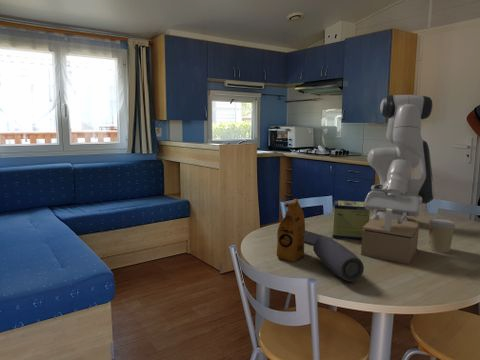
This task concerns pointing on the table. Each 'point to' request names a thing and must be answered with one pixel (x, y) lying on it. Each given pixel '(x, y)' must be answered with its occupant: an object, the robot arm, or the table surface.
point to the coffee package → (291, 233)
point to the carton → (389, 246)
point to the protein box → (349, 219)
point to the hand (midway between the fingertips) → (387, 221)
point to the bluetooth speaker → (338, 259)
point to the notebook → (311, 238)
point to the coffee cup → (440, 235)
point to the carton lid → (391, 225)
